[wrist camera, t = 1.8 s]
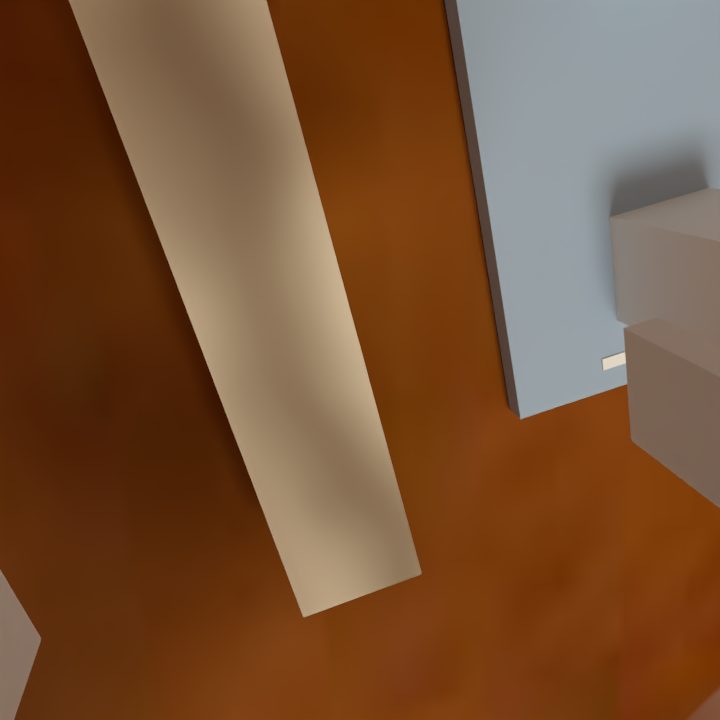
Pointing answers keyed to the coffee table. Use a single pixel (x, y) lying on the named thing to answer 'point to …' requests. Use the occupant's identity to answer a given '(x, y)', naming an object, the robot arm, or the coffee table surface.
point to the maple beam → (257, 278)
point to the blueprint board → (591, 179)
